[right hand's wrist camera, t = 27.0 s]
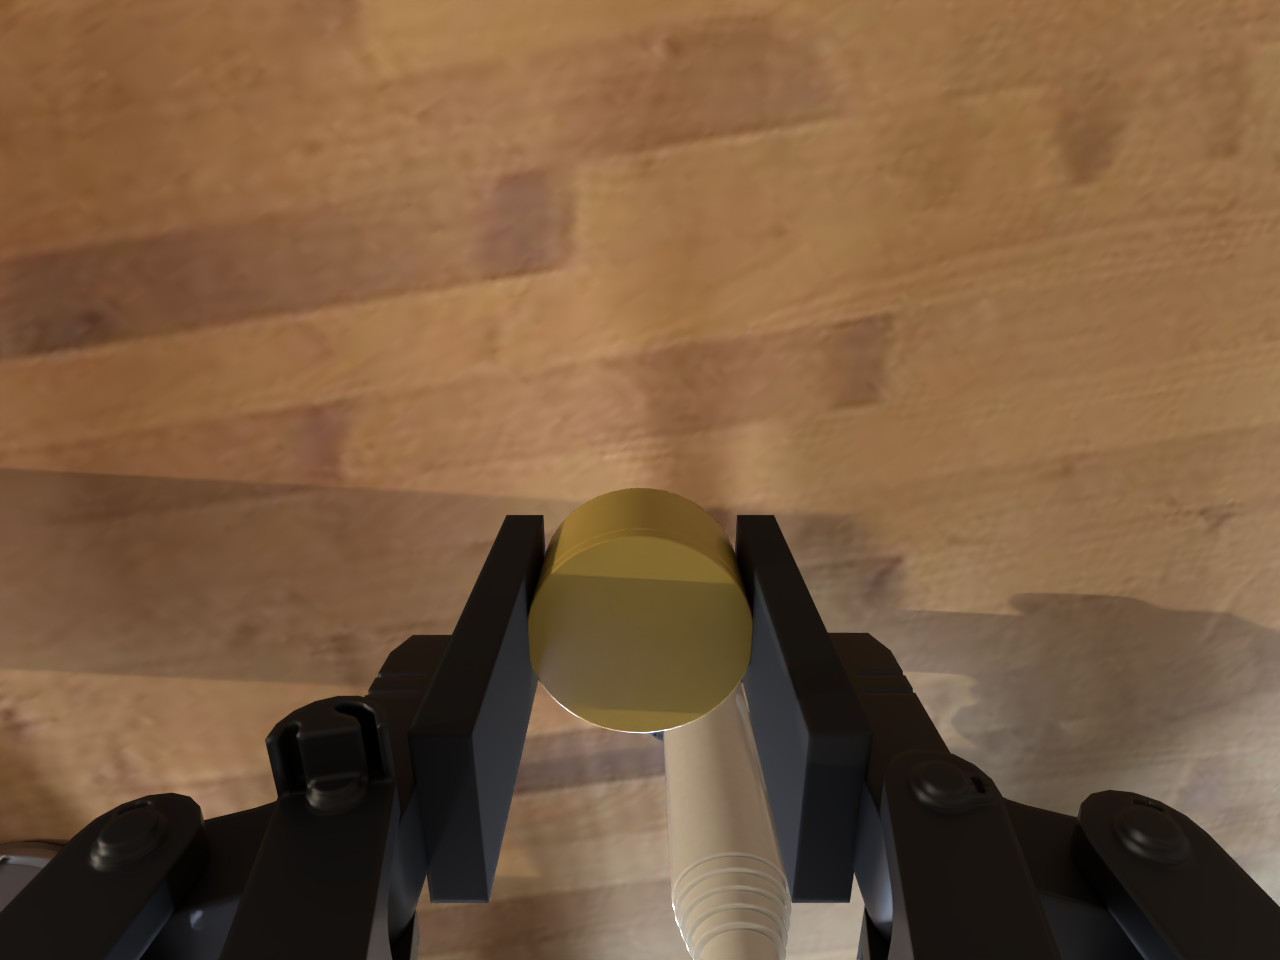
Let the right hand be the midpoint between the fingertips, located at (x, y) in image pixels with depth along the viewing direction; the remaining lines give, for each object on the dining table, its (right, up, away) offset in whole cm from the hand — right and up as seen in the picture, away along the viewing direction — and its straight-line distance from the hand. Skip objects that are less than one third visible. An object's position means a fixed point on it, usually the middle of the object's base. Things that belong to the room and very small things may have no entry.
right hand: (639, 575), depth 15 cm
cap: (0, -1, -2) cm, 2 cm away
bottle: (+4, -8, +30) cm, 32 cm away
